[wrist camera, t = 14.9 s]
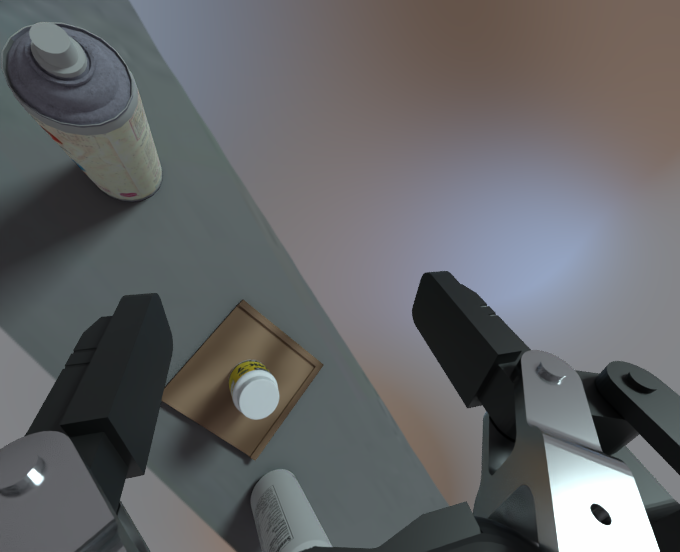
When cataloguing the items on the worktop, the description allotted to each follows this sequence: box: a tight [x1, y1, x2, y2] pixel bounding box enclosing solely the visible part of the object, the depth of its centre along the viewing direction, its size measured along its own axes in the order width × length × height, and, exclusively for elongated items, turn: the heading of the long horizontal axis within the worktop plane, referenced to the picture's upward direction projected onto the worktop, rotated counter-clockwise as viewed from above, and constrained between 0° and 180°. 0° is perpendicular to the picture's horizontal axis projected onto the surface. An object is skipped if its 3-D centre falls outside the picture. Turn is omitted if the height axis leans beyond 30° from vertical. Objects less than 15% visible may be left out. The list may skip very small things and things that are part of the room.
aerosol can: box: [1, 22, 162, 202], centre depth 26 cm, size 7×7×20 cm
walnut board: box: [162, 300, 323, 460], centre depth 38 cm, size 14×14×1 cm
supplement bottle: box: [228, 360, 279, 420], centre depth 34 cm, size 5×5×8 cm
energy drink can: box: [251, 469, 332, 552], centre depth 33 cm, size 6×6×15 cm
